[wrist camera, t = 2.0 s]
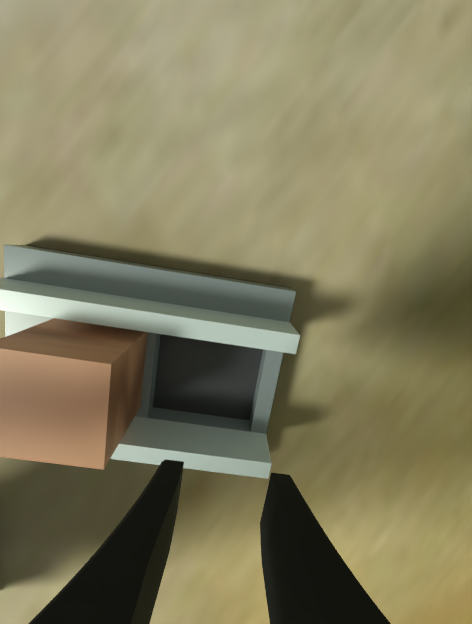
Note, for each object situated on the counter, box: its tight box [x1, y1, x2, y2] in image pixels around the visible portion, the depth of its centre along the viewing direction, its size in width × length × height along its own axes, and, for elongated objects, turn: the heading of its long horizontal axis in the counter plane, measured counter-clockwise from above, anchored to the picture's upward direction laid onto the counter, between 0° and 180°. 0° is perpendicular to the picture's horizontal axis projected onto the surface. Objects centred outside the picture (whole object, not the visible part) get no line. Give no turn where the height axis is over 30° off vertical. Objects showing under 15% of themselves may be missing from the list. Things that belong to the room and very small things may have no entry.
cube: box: [0, 318, 148, 470], centre depth 14 cm, size 5×5×5 cm
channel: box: [0, 245, 300, 479], centre depth 16 cm, size 12×16×4 cm
